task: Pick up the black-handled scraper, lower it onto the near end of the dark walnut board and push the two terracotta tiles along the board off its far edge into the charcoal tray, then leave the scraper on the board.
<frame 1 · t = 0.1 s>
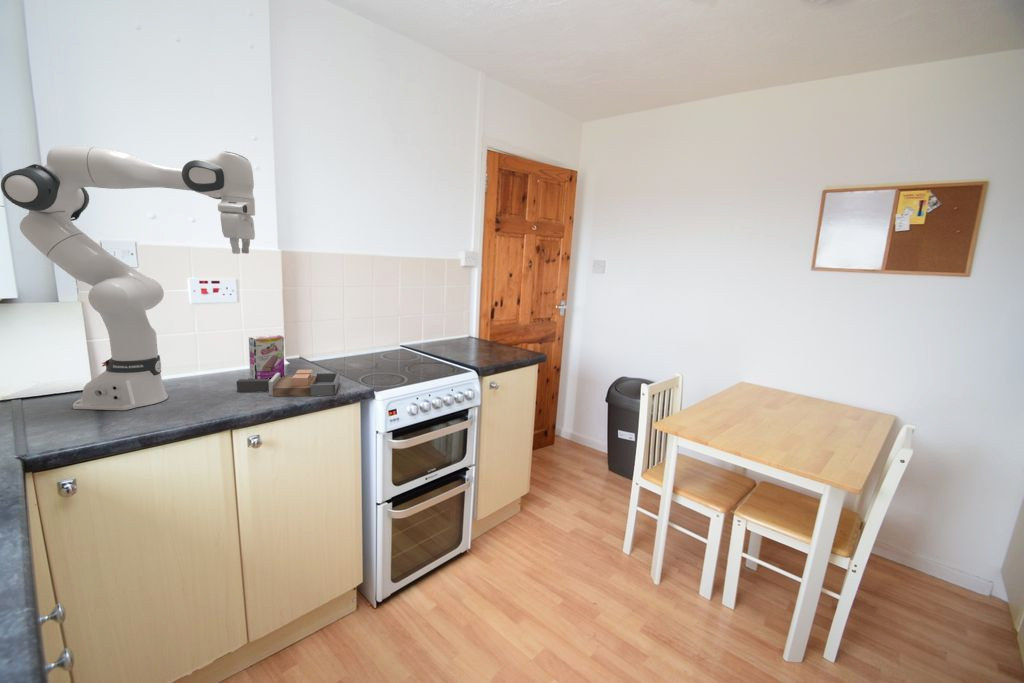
hand: (241, 253, 140), 48 cm above the counter, tool pointing down, fingers open, 8 cm apart
tile a: (301, 384, 157), point 3 cm above the counter, touching board
tray: (325, 389, 163), on the counter
tile b: (304, 379, 163), point 3 cm above the counter, touching board
board: (296, 389, 160), on the counter
candy bar box: (268, 378, 173), on the counter
scraper: (256, 391, 157), on the counter
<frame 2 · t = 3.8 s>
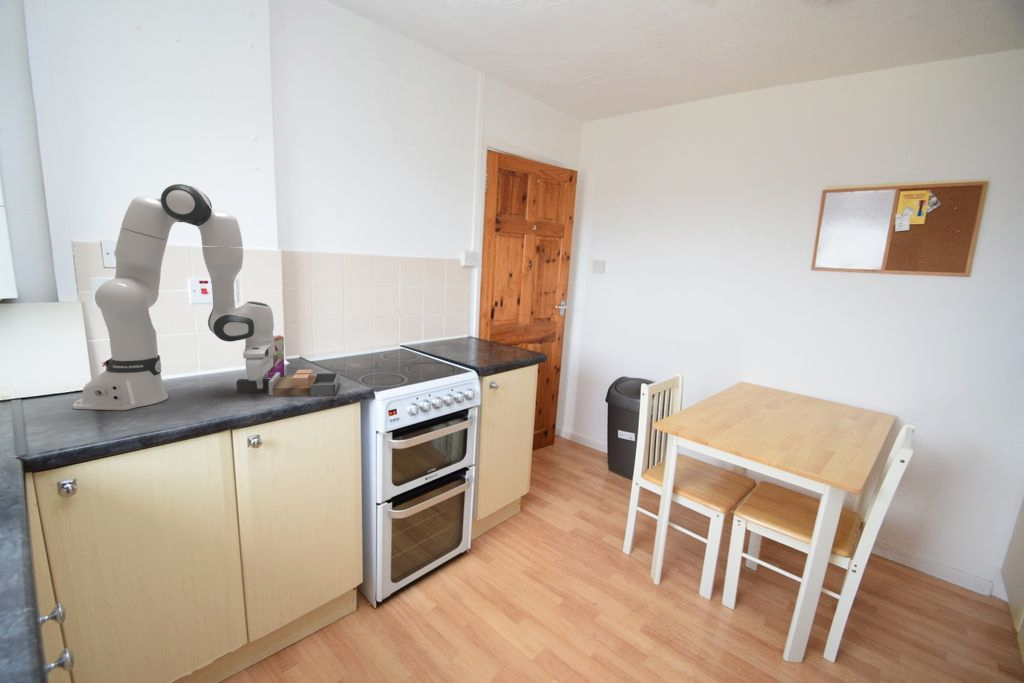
hand: (262, 386, 157), 2 cm above the counter, tool pointing down, fingers closed on scraper, 3 cm apart
scraper: (256, 390, 157), on the counter, touching gripper
everything else where it was.
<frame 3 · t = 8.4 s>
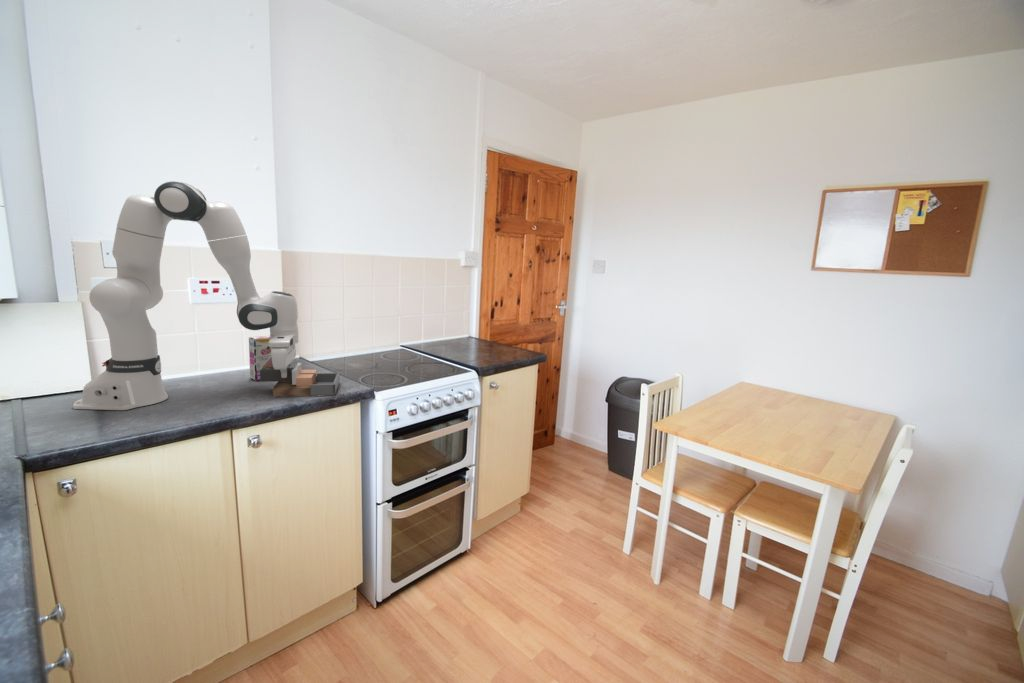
hand: (285, 375, 159), 5 cm above the counter, tool pointing down, fingers closed on scraper, 3 cm apart
tile a: (305, 384, 158), point 3 cm above the counter, touching board
tile b: (308, 379, 164), point 3 cm above the counter, touching scraper
scraper: (278, 380, 158), point 4 cm above the counter, touching gripper, tile b
everything else where it was.
when the fingers open (5 cm above the counter, at t = 11.0 s): scraper stays where it is, resting on board.
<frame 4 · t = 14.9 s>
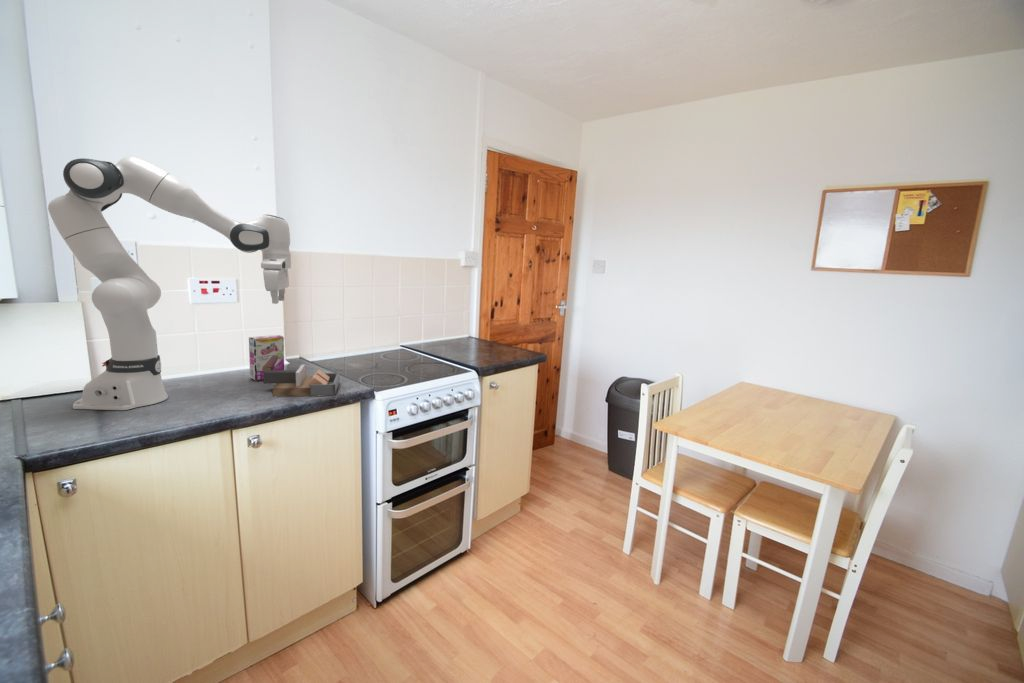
hand: (278, 302, 159), 31 cm above the counter, tool pointing down, fingers open, 8 cm apart
tile a: (315, 386, 159), point 2 cm above the counter, tilted 40°, touching board, tray
tile b: (318, 381, 165), point 2 cm above the counter, tilted 40°, touching board, tray
scraper: (282, 382, 159), point 3 cm above the counter, touching board
everything else where it was.
at the end: tile a inside the target area (4.7 cm from its centre), point 2.2 cm above the counter; tile b inside the target area (4.6 cm from its centre), point 2.2 cm above the counter; the gripper is holding nothing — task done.
